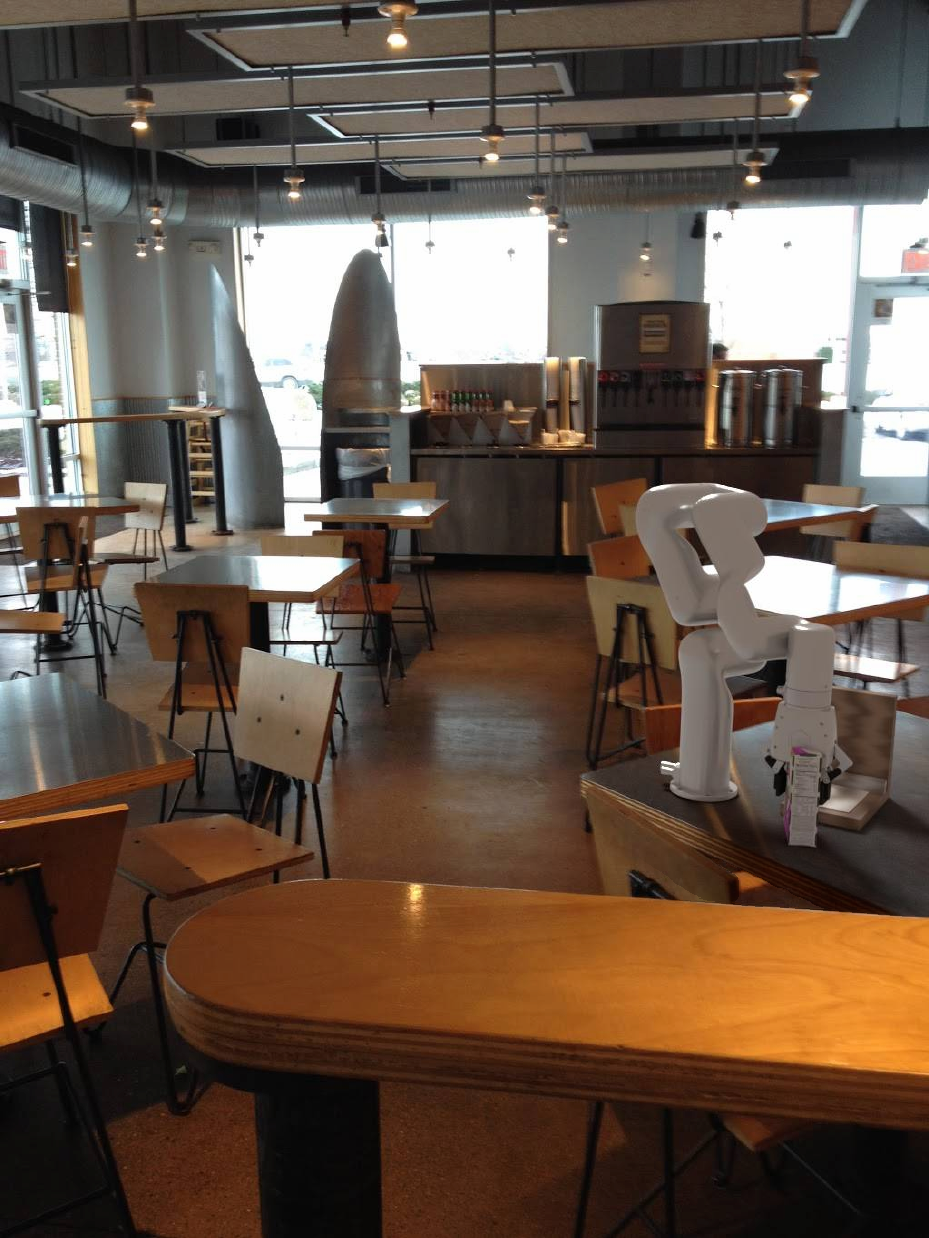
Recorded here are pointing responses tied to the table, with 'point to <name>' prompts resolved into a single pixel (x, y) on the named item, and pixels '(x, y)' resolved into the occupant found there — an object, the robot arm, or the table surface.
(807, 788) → the candy bar box
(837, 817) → the display stand
